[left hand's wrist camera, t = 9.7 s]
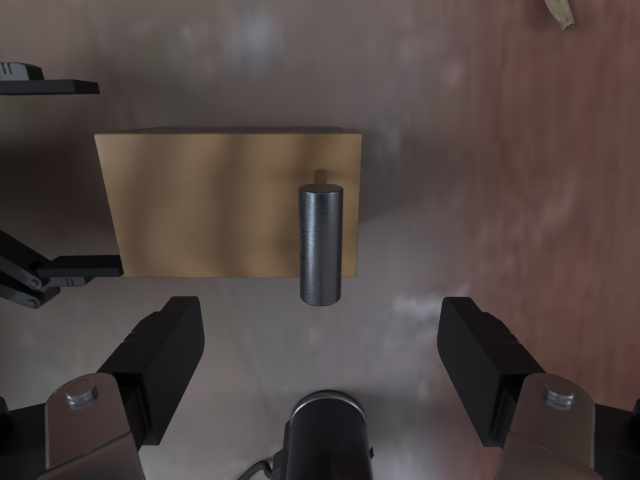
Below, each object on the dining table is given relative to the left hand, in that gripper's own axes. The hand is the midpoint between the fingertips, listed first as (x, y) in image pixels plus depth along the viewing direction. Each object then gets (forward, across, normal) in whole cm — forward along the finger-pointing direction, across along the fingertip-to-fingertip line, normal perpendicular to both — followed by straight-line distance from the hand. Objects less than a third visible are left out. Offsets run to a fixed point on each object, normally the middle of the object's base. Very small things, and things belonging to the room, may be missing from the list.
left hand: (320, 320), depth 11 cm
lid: (+14, +6, 0) cm, 15 cm away
